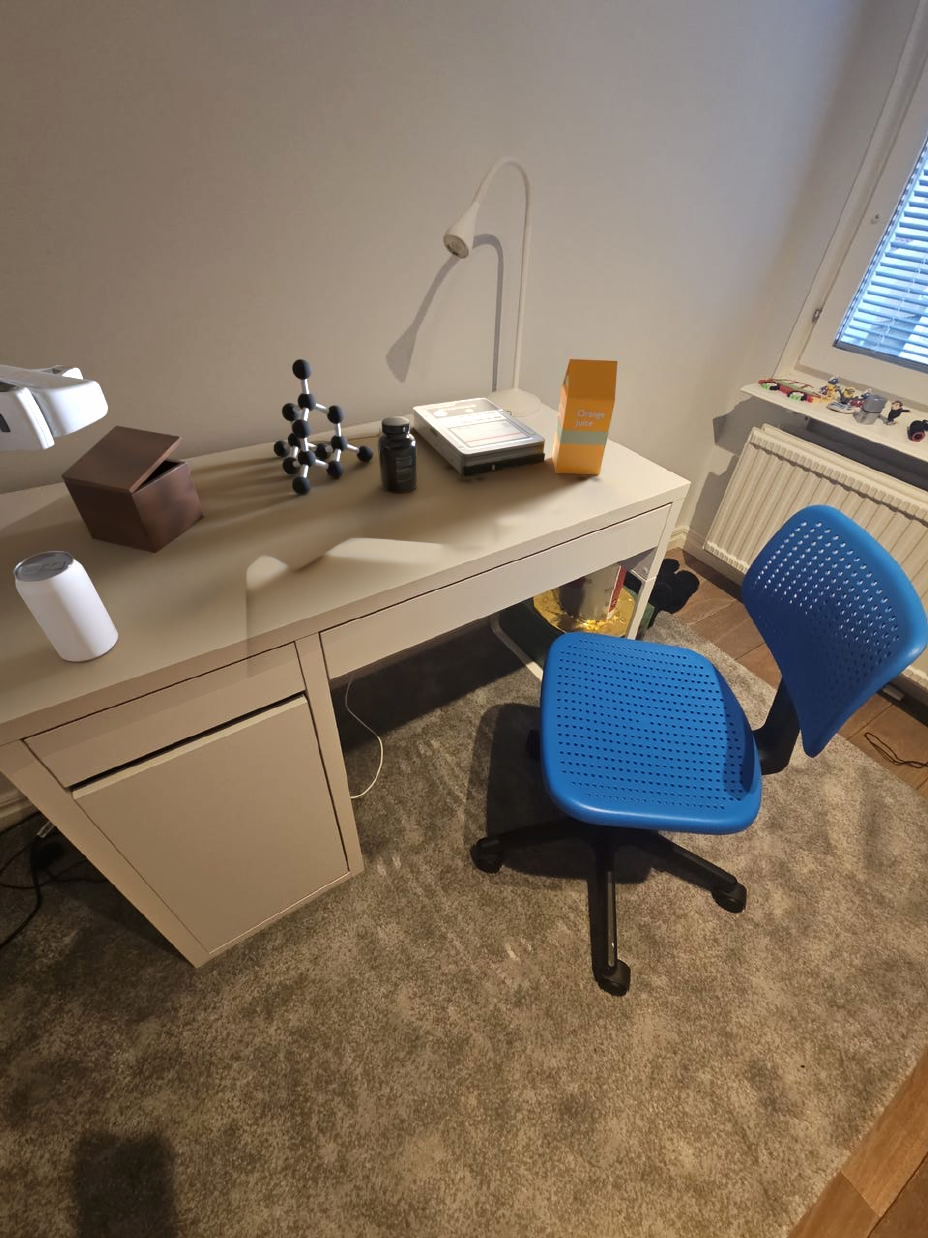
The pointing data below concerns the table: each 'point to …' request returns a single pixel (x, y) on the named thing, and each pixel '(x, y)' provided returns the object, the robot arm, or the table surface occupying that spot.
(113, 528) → the box
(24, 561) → the can
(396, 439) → the supplement bottle
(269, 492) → the table surface
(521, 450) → the hard drive
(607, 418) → the orange juice
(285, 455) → the molecular model
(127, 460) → the lid
